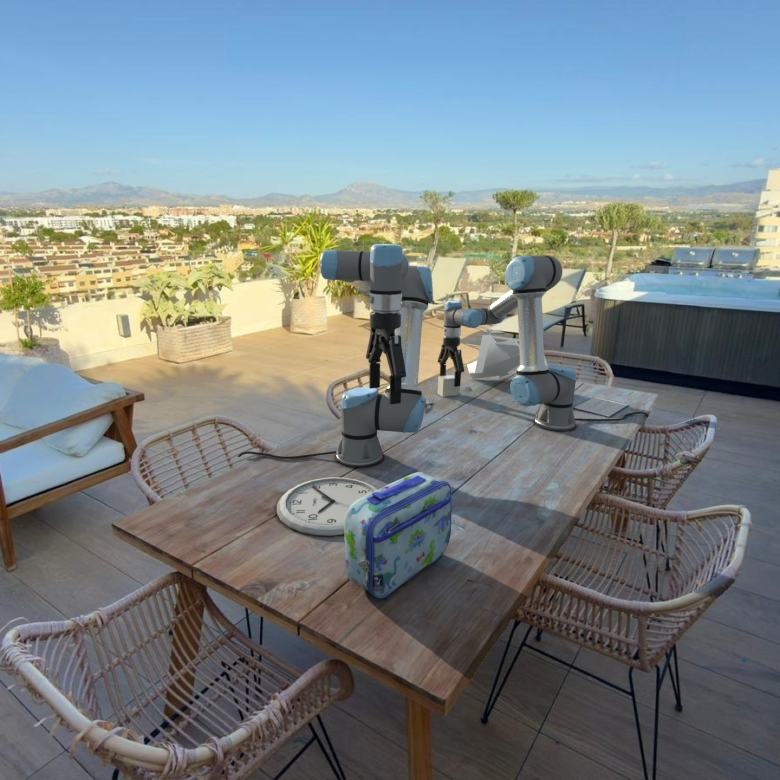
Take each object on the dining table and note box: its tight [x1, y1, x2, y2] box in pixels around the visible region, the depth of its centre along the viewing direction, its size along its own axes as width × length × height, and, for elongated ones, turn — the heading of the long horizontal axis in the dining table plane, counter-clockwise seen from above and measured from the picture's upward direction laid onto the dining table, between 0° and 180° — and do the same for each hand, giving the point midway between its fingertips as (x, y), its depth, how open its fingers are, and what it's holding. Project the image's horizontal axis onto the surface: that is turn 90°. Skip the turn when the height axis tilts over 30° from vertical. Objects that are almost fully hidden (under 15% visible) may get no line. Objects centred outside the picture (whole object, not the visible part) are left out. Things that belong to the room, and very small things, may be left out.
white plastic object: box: [467, 334, 549, 380], centre depth 256 cm, size 37×45×31 cm
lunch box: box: [343, 471, 453, 599], centre depth 113 cm, size 26×11×21 cm, turn 134°
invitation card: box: [573, 396, 629, 418], centre depth 226 cm, size 21×1×15 cm
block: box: [436, 374, 461, 398], centre depth 238 cm, size 5×9×8 cm, turn 113°
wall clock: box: [276, 476, 379, 537], centre depth 142 cm, size 30×2×30 cm
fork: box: [425, 396, 435, 409], centre depth 223 cm, size 3×16×2 cm, turn 160°
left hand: (384, 395), depth 132 cm, fingers open, 13 cm apart
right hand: (449, 382), depth 238 cm, fingers open, 13 cm apart
